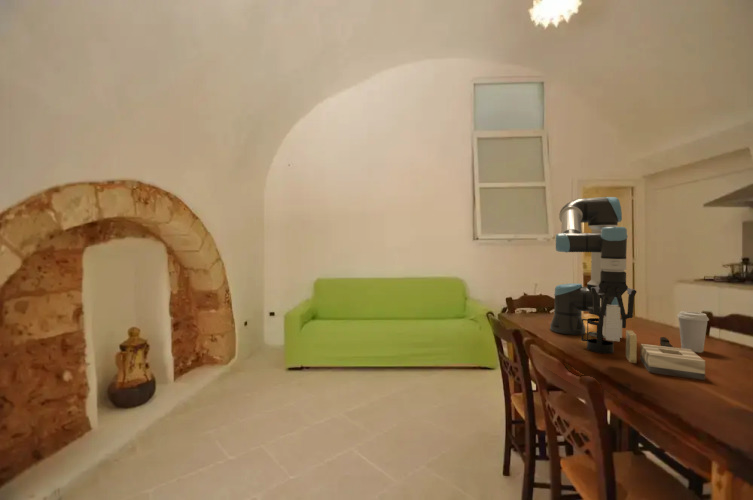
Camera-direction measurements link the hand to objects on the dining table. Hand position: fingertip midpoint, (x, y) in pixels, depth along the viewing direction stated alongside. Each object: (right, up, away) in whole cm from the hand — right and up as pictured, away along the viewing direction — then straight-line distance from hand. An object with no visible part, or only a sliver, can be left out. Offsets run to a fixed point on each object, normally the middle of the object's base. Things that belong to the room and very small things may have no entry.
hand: (612, 335), depth 122 cm
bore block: (+17, -10, -5) cm, 20 cm away
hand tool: (+31, -10, +14) cm, 35 cm away
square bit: (0, -1, 0) cm, 1 cm away
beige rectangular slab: (+11, -10, +5) cm, 16 cm away
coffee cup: (+44, -10, +17) cm, 48 cm away
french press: (+6, -10, +17) cm, 21 cm away
